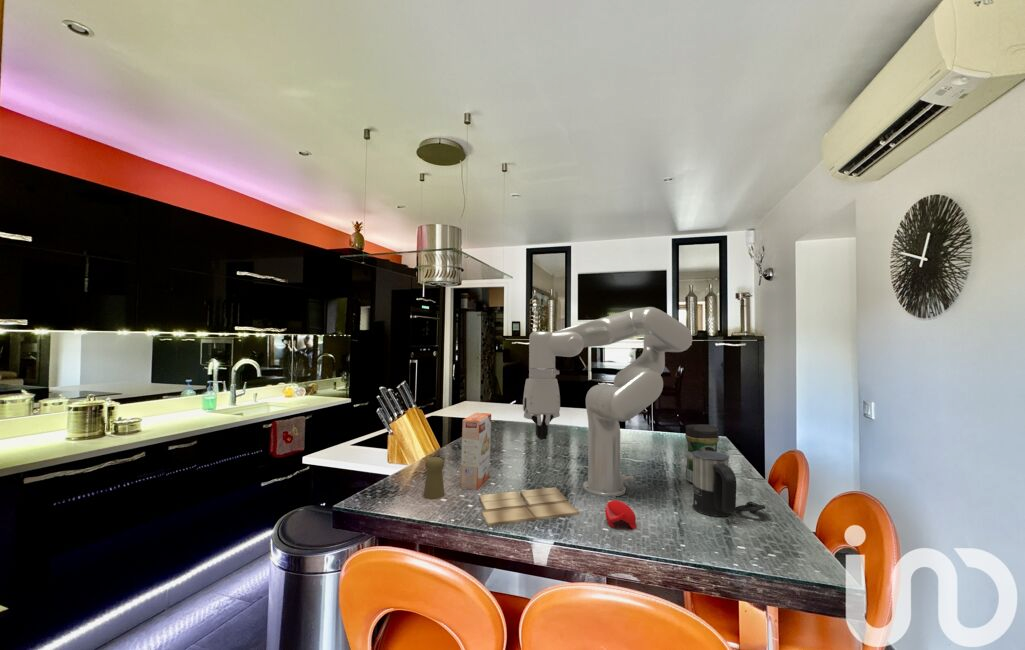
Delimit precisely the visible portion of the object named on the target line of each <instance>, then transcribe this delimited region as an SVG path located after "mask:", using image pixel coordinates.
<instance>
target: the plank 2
mask: <svg viewBox="0 0 1025 650" xmlns="http://www.w3.org/2000/svg"><path fill="white" fill-rule="evenodd" d="M519 495H520V496H521V498H522V499H523V500H524V502H525V503H526V505H527V506H530V505H539V504H547V503H556V502H564V501H568V502H569V500H568V499H567V498H566V496H564V494H563V493H562V492H561V491H560V490H559V489H558V488H557V486H555V487H554V486H553V487H546V488H545V487H544V488H535V489H527V490H526V489H525V490H520V491H519Z"/></svg>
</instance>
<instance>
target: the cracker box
mask: <svg viewBox="0 0 1025 650" xmlns="http://www.w3.org/2000/svg"><path fill="white" fill-rule="evenodd" d="M461 430H462V432H461V457H460V458H461V459H460V460H461V461H460V462H461V463H460V464H461V465H460V484H459V486H460V487H459V488H460V489H464V490H474V491H475V490H476V491H478V490H479V489H480V488H481V486H482V485H483V484H484V483H485V482H486V481H487V480H488V479H489V478H490V469H491V468H490V467H491V464H490V463H491V460H490V459H491V441H492V440H491V436H492V413H489V412H488V413H487V412H475V413H473V414H471V415H469V416H468V417H466V418H464V419H462V428H461Z"/></svg>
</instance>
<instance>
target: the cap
mask: <svg viewBox="0 0 1025 650" xmlns="http://www.w3.org/2000/svg"><path fill="white" fill-rule="evenodd" d="M604 512H605V518H606V520H607V523H608V525H609V527H610V528H613V529H614V528H615V525H614V523H615V522H616V523H617V522H619V521H620V522H621V520H622V521H624V522H625V523H628V524H629V527H630V528H631V529H632V530H636V529H637V523H636V520H637V516H636V514H635V512H634V511H633V509H632V508H631V507H630V506H629V505H628V504H626V503H624V502H623V501H620V500H615V499H613V500H610V501H609V502H607V504H606V506H605V508H604Z"/></svg>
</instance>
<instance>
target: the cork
mask: <svg viewBox="0 0 1025 650" xmlns="http://www.w3.org/2000/svg"><path fill="white" fill-rule="evenodd" d="M424 464H425V465H424V466H425V469H426V475H425V482H424V489H423V498H424V499H428V500H437V499H441V498H443V497H444V496H445V486H444V485H445V484H444V478H443V477H444V476H443V469H444V466H445V461H444V459H443V458H442V457H439V456H433V457H432V456H431V457H429V458H427V459H426V461H425V463H424Z"/></svg>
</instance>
